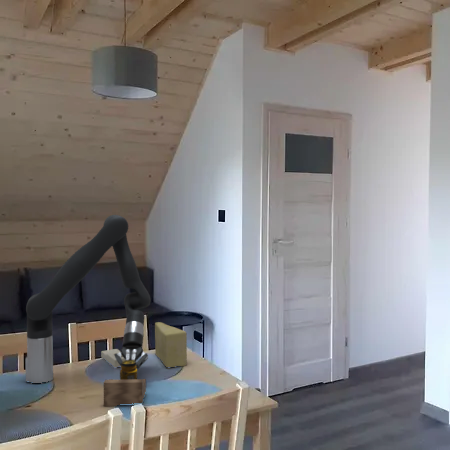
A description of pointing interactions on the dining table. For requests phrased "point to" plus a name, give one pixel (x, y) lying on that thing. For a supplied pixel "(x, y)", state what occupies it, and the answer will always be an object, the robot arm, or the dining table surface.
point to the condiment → (128, 370)
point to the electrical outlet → (111, 356)
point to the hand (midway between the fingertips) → (129, 378)
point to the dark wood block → (124, 391)
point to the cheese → (170, 345)
